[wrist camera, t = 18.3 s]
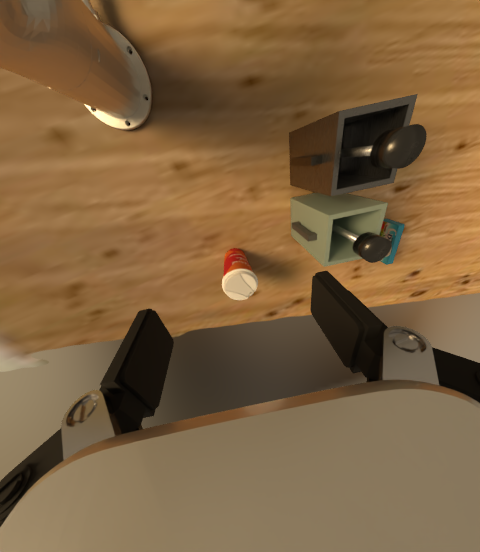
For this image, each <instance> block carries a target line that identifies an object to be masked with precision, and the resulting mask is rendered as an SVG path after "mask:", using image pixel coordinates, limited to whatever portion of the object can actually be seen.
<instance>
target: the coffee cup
mask: <svg viewBox="0 0 480 552" xmlns="http://www.w3.org/2000/svg"><path fill="white" fill-rule="evenodd" d="M257 285H258V279H257V277H256V275H255V274H254V273H253V271H252V269H251V267H250V265H249V262H248V260H247V258H246V256H245V254H244V252H243V251H242V250H240V249H237V248H234V249H230V250H229V251H228V252H227V253H226V255H225V261H224V277H223V279H222V288H223V290H224V292H225V293H226V294H227V295H228V296H229V297H230V298H232V299H234V300H244V299H247V298H249V296H251V295H252V294H253V293H254V291H256V288H257Z"/></svg>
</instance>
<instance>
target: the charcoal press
mask: <svg viewBox="0 0 480 552" xmlns="http://www.w3.org/2000/svg"><path fill="white" fill-rule="evenodd" d="M416 98H417V94H416V95H411V96H406V97H402V98H397V99H393V100H388V101H384V102H379V103H374V104H370V105H365V106H361V107H356V108H352V109H347V110H343V111H339V112H336V113H334V114H332V115H329V116H327V117H325V118H322V119H320V120H318V121H316V122H313V123H311V124H309V125H306V126H304V127H302V128H299V129H297V130H295V131H293V132H290V133H289V143H290V185H292V186H296V187H299V188H303V189H306V190H310V191H313V192H317V193H321V194H324V195H328V196H335V195H340V194H344V193H349V192H353V191H358V190H363V189H367V188H372V187H376V186H381V185H386V184H390V183H394V179H395V175H396V172H397V168H376V167H374V166H373V165H372V164H371V161H370V156H361V157H342V158H340V154H341V149H347V148H356V147H364V146H372V145H373V144H374V143H375V141H376V140H377V138H378V137H379V136H380V135H381V134H382V133H384V132H385V131H387V130H390V129H395V128H400V127H405V126H409V124H410V120H411V117H412V113H413V109H414V105H415V102H416Z"/></svg>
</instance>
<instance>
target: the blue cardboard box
mask: <svg viewBox="0 0 480 552" xmlns="http://www.w3.org/2000/svg"><path fill="white" fill-rule="evenodd" d="M404 226H405V225H404V224H402V223H399V222H396V221H393V220H390V219H384V220H383V223H382V227H381V231H380V234H379V235H380V236H382V237H384V238H386V239H389V240H390V241H391V244H392V246H391V250H390V252H389V253H388V254H387V255H386V256H385V257H384V258H383V259H382V260H380V261H381V262H383V263H385V264H386V265H387V264H391V263H393V260H394V257H395V254H396V251H397V248H398V245H399V242H400V239H401V235H402V232H403V229H404Z"/></svg>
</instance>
